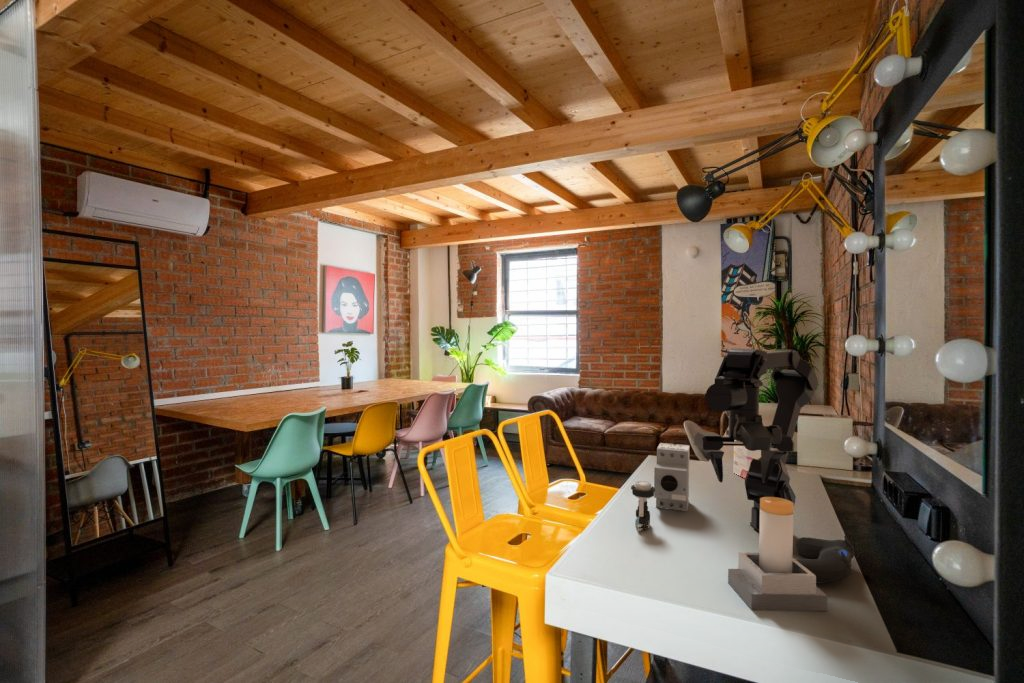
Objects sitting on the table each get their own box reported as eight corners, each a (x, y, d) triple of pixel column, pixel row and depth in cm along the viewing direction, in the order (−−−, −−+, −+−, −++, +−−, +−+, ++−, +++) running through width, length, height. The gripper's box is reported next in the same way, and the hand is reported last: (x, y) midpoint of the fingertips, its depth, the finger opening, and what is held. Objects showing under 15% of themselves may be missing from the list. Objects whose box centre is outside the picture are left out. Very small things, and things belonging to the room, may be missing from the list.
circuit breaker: (653, 515, 125) (653, 453, 125) (659, 498, 139) (660, 442, 138) (685, 519, 122) (686, 456, 122) (688, 501, 136) (689, 445, 136)
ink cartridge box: (762, 480, 157) (763, 432, 157) (746, 480, 157) (747, 432, 157) (747, 472, 166) (748, 427, 166) (732, 473, 165) (733, 427, 165)
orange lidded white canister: (772, 572, 90) (773, 495, 90) (798, 584, 85) (800, 503, 85) (752, 577, 88) (753, 498, 88) (778, 591, 83) (779, 507, 83)
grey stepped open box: (796, 583, 91) (796, 552, 91) (826, 611, 82) (827, 576, 82) (728, 582, 91) (728, 551, 91) (751, 609, 82) (751, 575, 82)
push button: (650, 535, 112) (651, 489, 112) (626, 530, 115) (627, 486, 115) (656, 525, 118) (657, 482, 118) (633, 521, 121) (634, 479, 121)
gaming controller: (797, 599, 91) (856, 584, 86) (779, 566, 92) (836, 550, 87) (809, 565, 104) (860, 551, 99) (793, 538, 106) (843, 522, 101)
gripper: (714, 413, 100) (712, 493, 100) (810, 414, 100) (808, 494, 100) (694, 405, 111) (693, 477, 111) (780, 406, 111) (779, 478, 111)
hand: (742, 482), depth 108 cm, fingers open, 9 cm apart
